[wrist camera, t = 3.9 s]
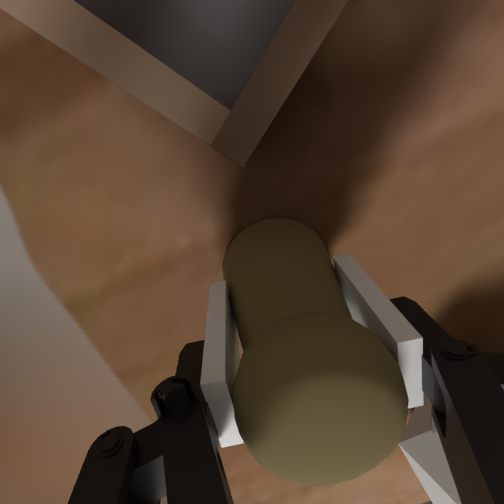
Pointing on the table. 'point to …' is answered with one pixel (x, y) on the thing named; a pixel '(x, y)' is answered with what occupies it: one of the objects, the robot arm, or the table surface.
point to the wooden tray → (193, 56)
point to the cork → (307, 361)
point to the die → (428, 456)
